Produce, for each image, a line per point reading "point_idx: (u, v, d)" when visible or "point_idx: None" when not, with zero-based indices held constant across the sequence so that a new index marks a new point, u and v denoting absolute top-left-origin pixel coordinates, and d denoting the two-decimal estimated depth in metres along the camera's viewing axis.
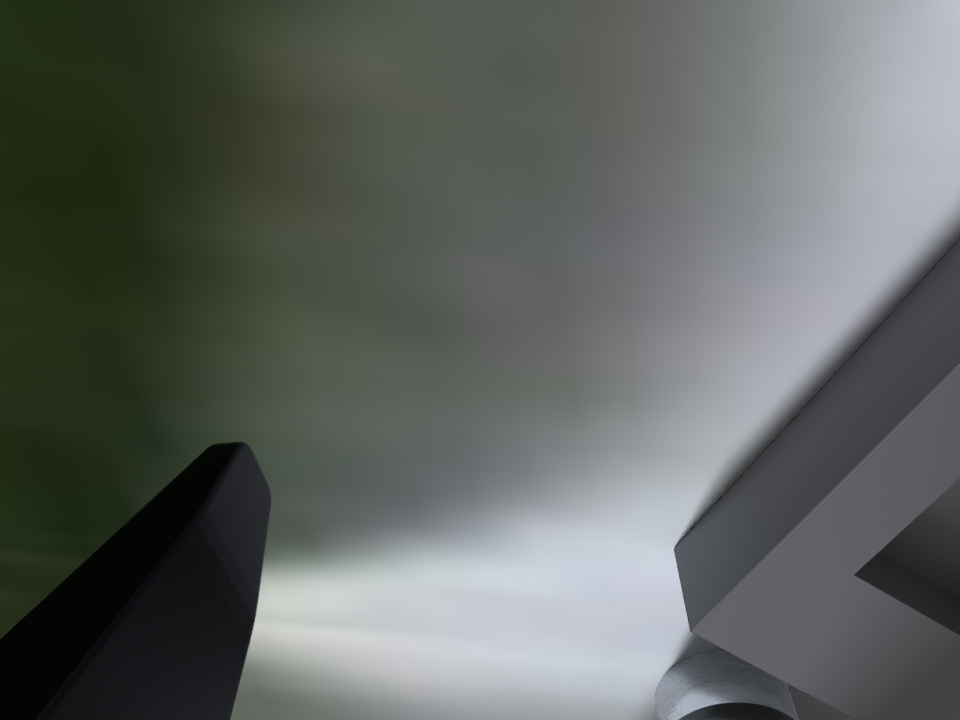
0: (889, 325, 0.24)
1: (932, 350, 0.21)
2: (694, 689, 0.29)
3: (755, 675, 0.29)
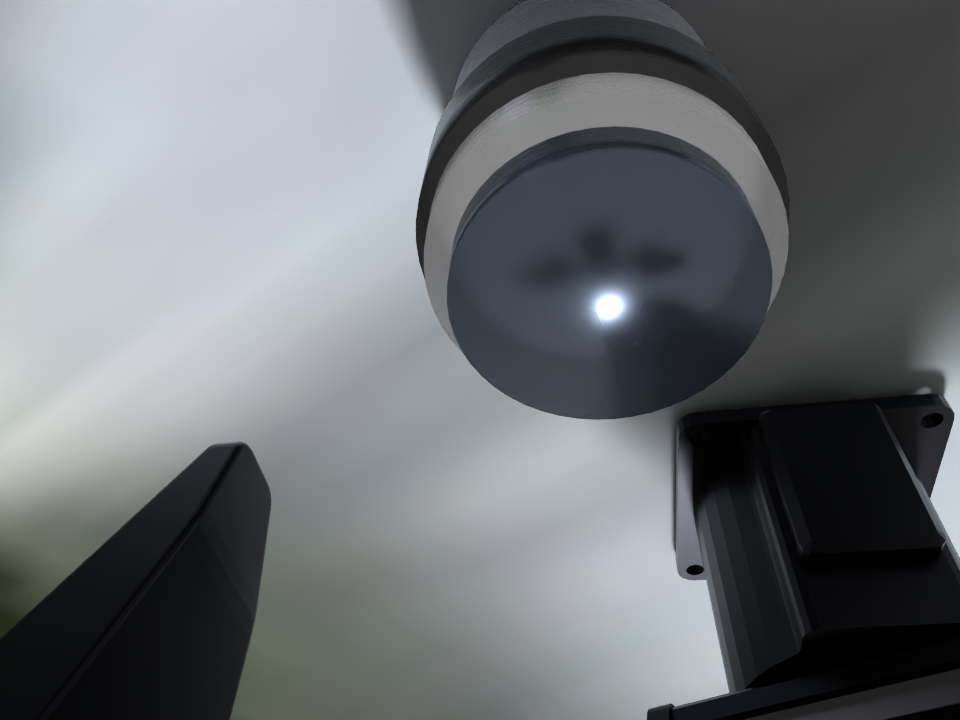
0: None
1: None
2: None
3: (535, 12, 0.13)
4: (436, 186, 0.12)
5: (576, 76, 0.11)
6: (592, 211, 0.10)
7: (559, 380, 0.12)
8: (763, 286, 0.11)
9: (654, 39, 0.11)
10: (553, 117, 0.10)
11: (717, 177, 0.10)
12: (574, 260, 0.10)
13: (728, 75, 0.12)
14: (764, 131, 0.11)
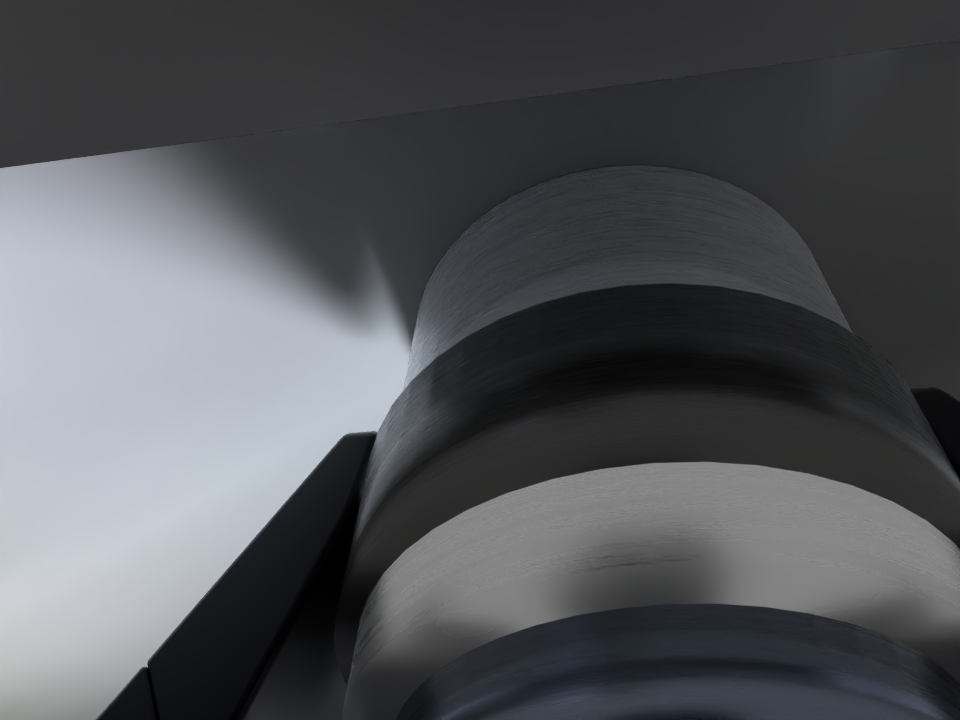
0: None
1: None
2: (405, 385, 0.09)
3: (546, 230, 0.08)
4: (366, 600, 0.06)
5: (631, 469, 0.05)
6: None
7: None
8: None
9: (776, 358, 0.06)
10: (589, 589, 0.05)
11: None
12: None
13: (903, 399, 0.06)
14: None
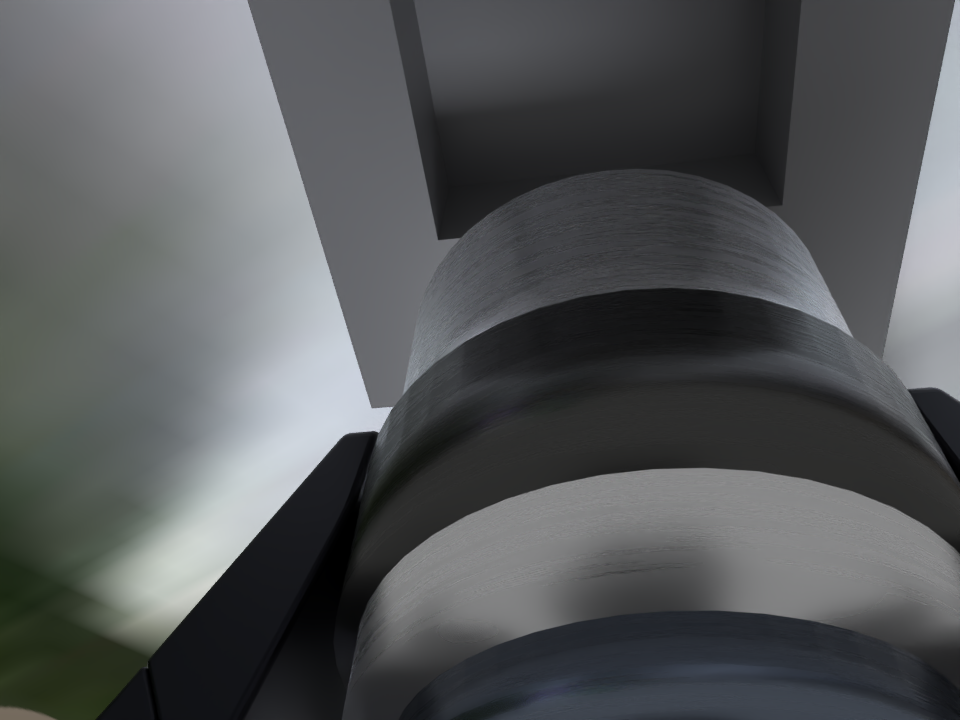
0: None
1: None
2: (404, 389, 0.09)
3: (546, 232, 0.08)
4: (365, 606, 0.06)
5: (632, 475, 0.05)
6: None
7: None
8: None
9: (776, 363, 0.06)
10: (589, 596, 0.05)
11: None
12: None
13: (903, 404, 0.06)
14: None
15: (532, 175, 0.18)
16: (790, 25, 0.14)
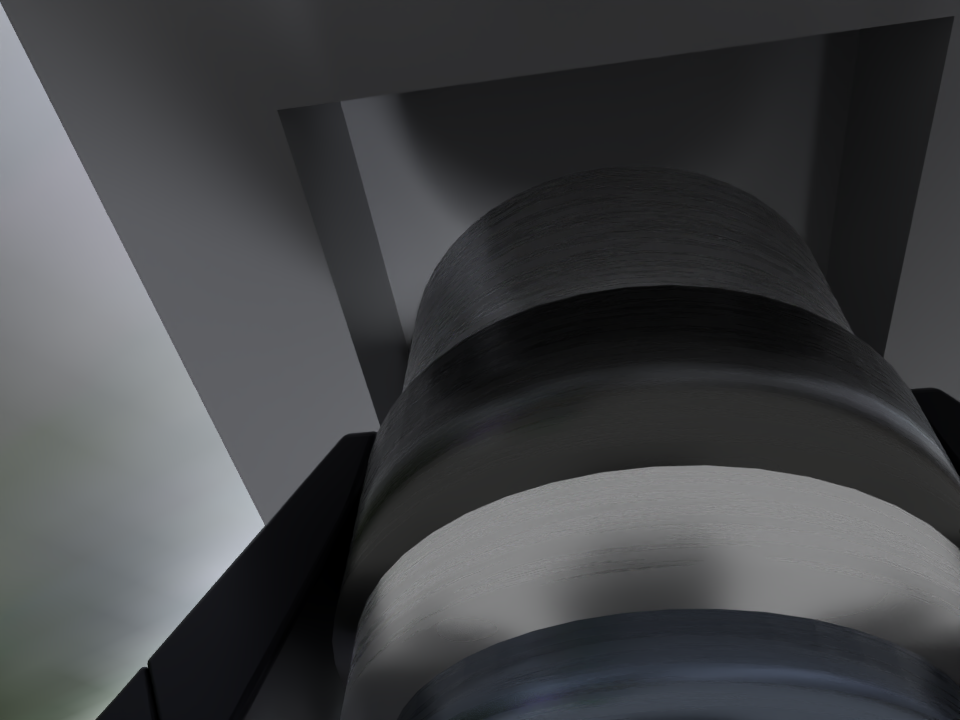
0: None
1: None
2: (403, 387, 0.09)
3: (546, 230, 0.08)
4: (364, 604, 0.06)
5: (631, 473, 0.05)
6: None
7: None
8: None
9: (777, 360, 0.06)
10: (589, 594, 0.05)
11: None
12: None
13: (905, 402, 0.06)
14: None
15: None
16: (876, 292, 0.11)
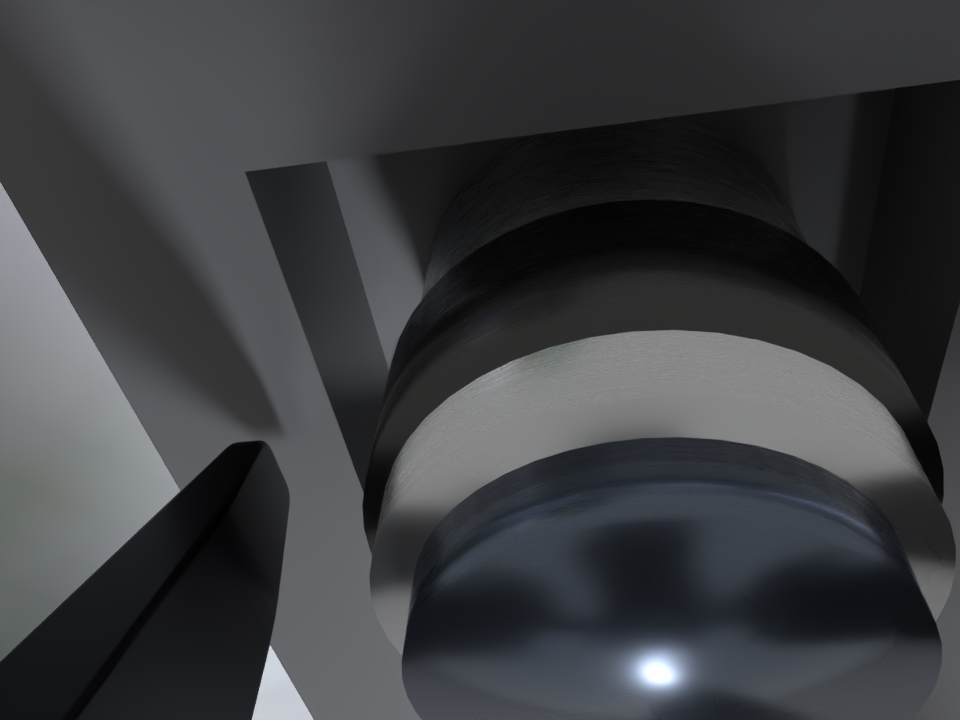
0: None
1: None
2: None
3: (546, 165, 0.09)
4: (391, 467, 0.07)
5: (613, 336, 0.06)
6: (644, 588, 0.06)
7: None
8: (922, 680, 0.06)
9: (737, 254, 0.07)
10: (577, 424, 0.06)
11: (865, 545, 0.06)
12: (610, 642, 0.06)
13: (848, 297, 0.07)
14: (918, 410, 0.07)
15: None
16: (916, 363, 0.09)
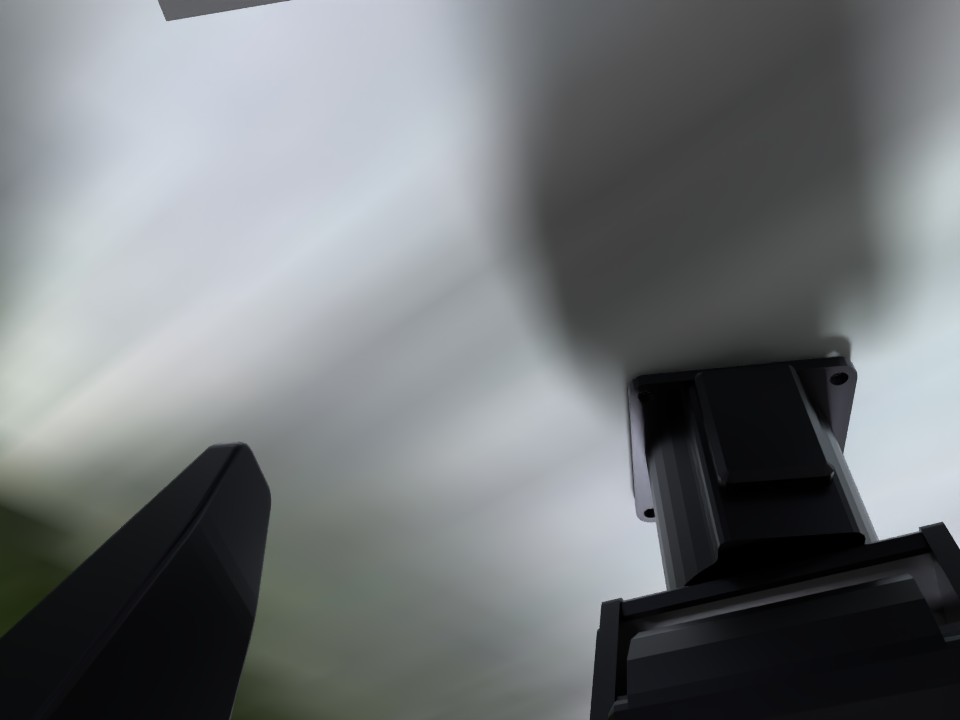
0: None
1: None
2: None
3: None
4: None
5: None
6: None
7: None
8: None
9: None
10: None
11: None
12: None
13: None
14: None
15: None
16: None
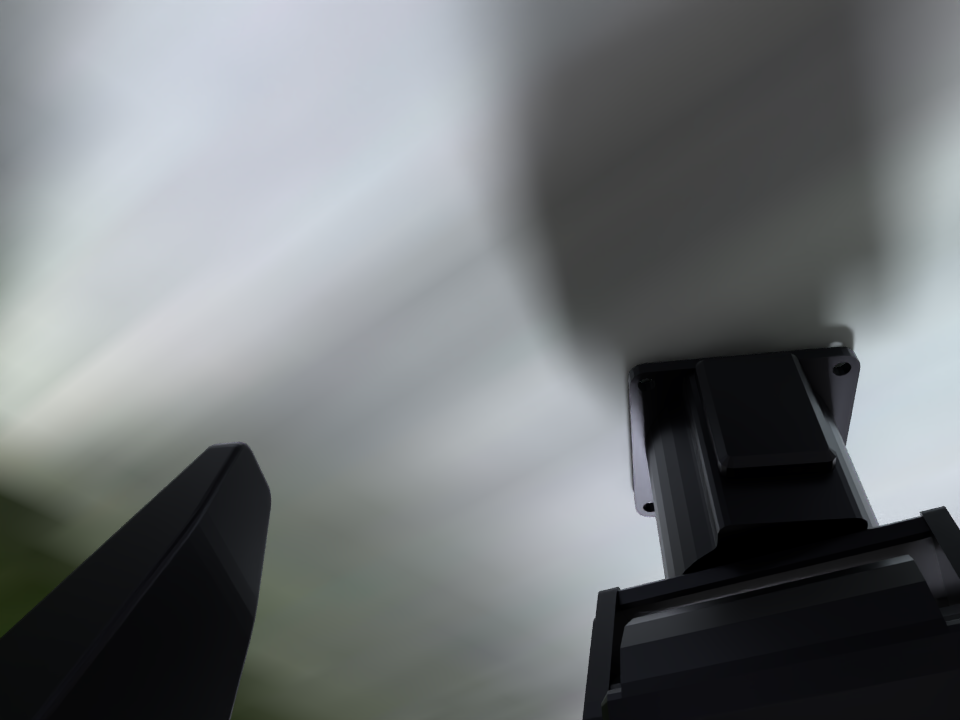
0: None
1: None
2: None
3: None
4: None
5: None
6: None
7: None
8: None
9: None
10: None
11: None
12: None
13: None
14: None
15: None
16: None
